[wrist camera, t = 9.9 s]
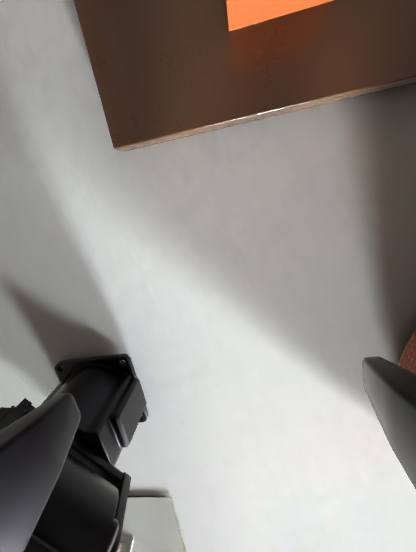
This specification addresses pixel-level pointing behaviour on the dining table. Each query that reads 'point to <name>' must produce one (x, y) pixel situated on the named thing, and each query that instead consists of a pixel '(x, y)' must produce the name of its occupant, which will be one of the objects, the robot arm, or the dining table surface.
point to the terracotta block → (262, 10)
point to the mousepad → (150, 526)
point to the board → (237, 62)
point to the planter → (409, 355)
